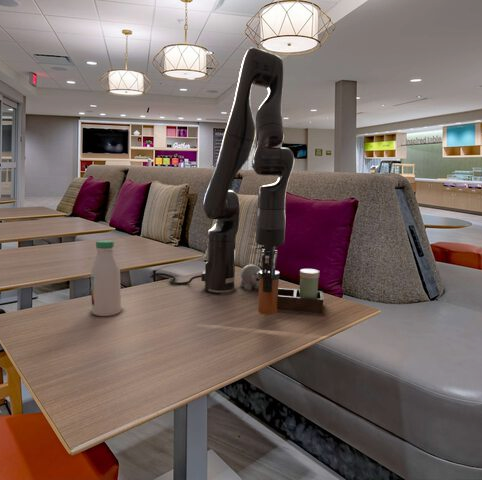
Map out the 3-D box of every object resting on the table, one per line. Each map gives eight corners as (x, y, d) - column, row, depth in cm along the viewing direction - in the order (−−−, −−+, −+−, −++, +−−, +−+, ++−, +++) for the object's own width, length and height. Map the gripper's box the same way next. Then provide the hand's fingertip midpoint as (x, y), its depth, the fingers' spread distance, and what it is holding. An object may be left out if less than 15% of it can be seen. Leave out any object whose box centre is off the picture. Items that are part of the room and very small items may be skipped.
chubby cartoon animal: (251, 297, 132) (252, 271, 131) (237, 287, 143) (238, 262, 142) (271, 295, 135) (272, 269, 133) (256, 285, 146) (257, 261, 144)
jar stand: (265, 310, 120) (266, 295, 120) (268, 301, 129) (269, 287, 128) (322, 315, 118) (323, 299, 117) (321, 306, 126) (322, 291, 125)
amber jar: (255, 314, 110) (257, 273, 108) (258, 307, 116) (259, 268, 114) (277, 316, 109) (278, 275, 107) (278, 309, 115) (280, 270, 113)
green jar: (297, 309, 120) (299, 272, 118) (298, 303, 125) (300, 268, 124) (317, 311, 119) (319, 273, 117) (317, 305, 124) (319, 269, 123)
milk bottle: (126, 309, 118) (125, 240, 115) (109, 318, 111) (108, 244, 108) (103, 306, 121) (101, 237, 117) (85, 314, 114) (83, 242, 110)
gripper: (259, 222, 116) (257, 280, 119) (252, 229, 102) (250, 295, 105) (286, 223, 115) (284, 282, 118) (283, 230, 101) (280, 297, 104)
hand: (268, 288), depth 111 cm, fingers closed on amber jar, 5 cm apart
